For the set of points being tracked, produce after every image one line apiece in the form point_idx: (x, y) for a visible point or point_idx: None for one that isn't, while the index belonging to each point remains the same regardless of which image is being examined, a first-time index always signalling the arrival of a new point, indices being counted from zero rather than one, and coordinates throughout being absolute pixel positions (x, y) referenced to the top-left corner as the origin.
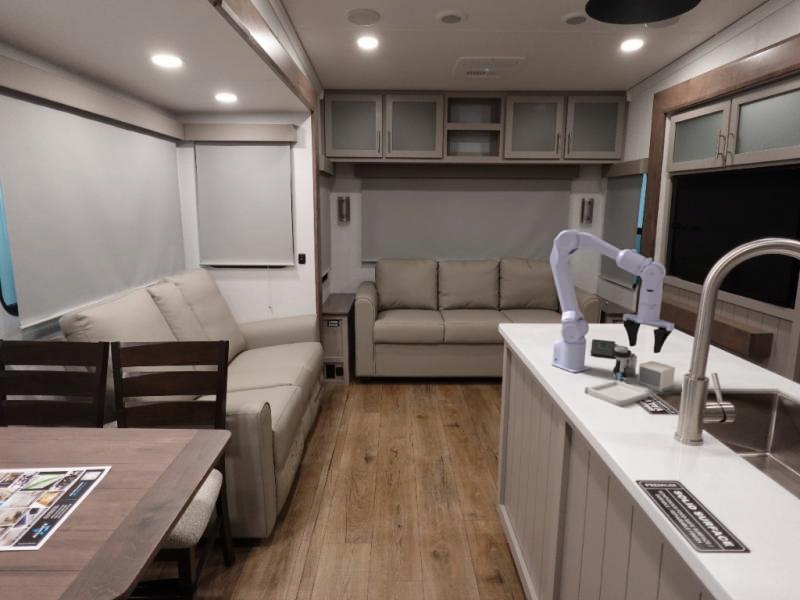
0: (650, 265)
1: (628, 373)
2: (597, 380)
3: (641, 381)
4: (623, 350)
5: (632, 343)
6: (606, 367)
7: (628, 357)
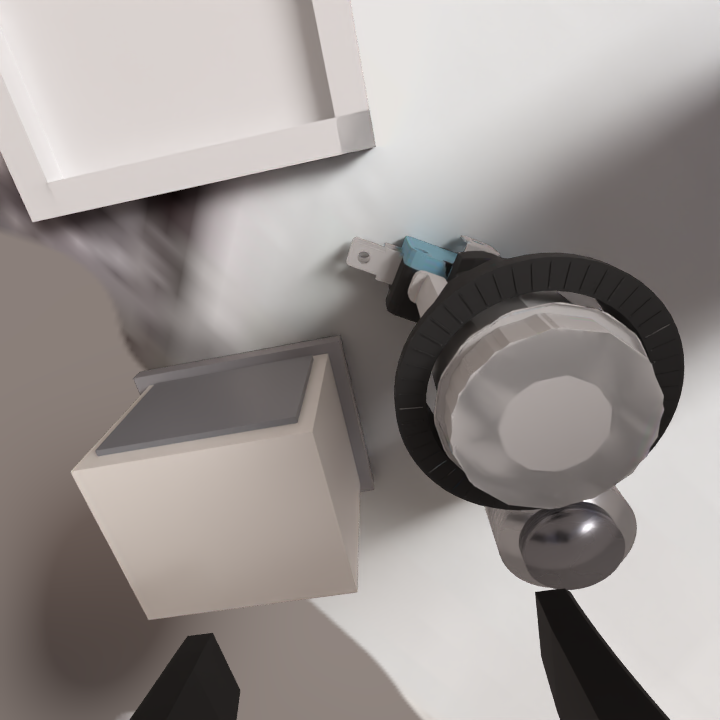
0: None
1: None
2: (521, 66)
3: (290, 359)
4: (460, 373)
5: (551, 642)
6: (709, 398)
7: None
